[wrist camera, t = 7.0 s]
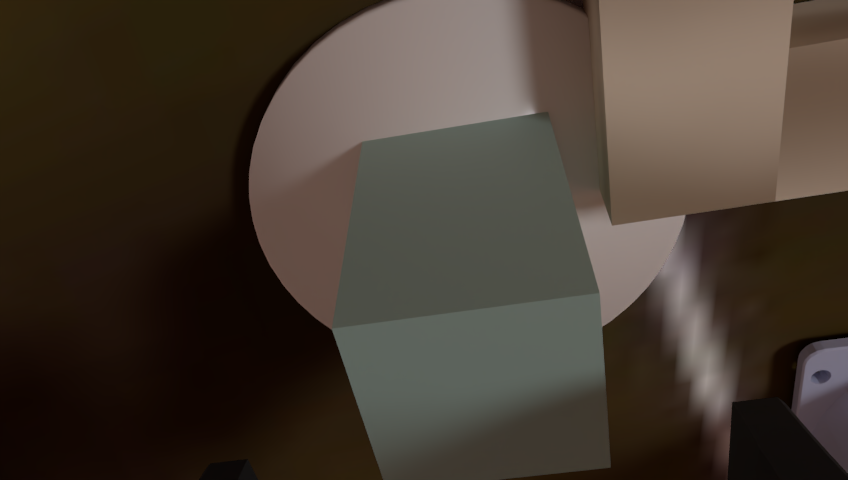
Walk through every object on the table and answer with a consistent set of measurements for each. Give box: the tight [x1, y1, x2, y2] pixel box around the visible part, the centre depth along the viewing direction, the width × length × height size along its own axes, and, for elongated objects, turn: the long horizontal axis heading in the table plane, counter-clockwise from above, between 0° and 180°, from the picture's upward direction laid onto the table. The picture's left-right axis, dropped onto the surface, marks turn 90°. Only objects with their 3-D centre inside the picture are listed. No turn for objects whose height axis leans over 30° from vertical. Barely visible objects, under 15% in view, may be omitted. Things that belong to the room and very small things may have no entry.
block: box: [332, 112, 611, 480], centre depth 15 cm, size 4×4×6 cm
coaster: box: [249, 0, 685, 330], centre depth 17 cm, size 10×10×1 cm
